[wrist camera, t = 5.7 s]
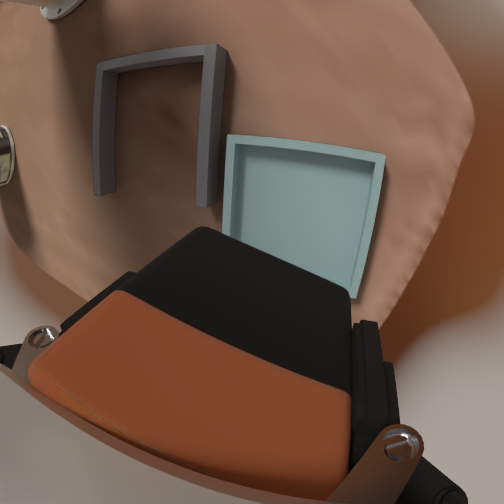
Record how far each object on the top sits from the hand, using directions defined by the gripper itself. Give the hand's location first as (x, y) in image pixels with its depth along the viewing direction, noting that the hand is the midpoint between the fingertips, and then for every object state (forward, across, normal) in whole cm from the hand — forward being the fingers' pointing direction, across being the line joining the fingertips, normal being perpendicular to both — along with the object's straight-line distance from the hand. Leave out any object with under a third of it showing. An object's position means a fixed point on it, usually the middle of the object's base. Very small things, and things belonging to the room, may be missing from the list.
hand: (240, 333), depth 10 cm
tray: (+17, 0, 0) cm, 17 cm away
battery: (+3, 0, 0) cm, 3 cm away
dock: (+17, +14, -7) cm, 23 cm away
